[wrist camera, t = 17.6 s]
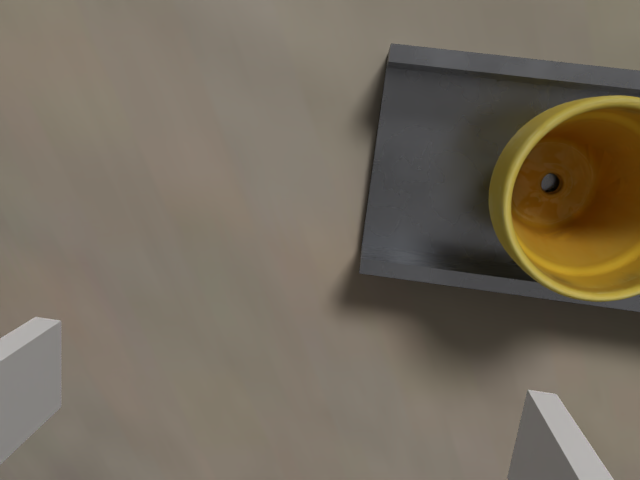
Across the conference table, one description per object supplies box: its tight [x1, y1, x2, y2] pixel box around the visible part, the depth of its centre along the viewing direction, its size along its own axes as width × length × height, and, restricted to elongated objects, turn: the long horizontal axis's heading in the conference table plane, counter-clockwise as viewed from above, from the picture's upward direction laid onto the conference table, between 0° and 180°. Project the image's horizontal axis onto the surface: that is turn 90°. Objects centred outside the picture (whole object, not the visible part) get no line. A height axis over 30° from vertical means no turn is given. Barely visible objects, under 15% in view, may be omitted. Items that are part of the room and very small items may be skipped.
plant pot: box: [489, 95, 640, 302], centre depth 31 cm, size 10×10×10 cm
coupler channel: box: [359, 44, 640, 312], centre depth 34 cm, size 14×24×6 cm, turn 83°
